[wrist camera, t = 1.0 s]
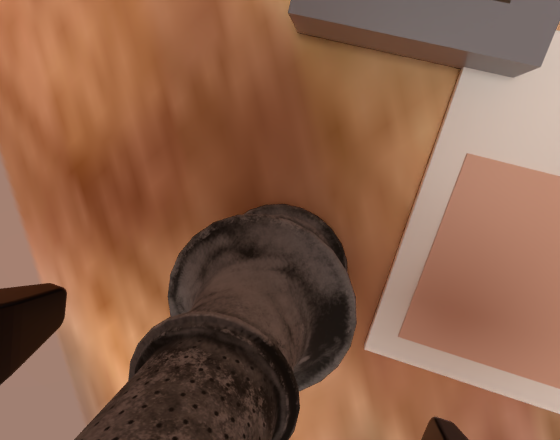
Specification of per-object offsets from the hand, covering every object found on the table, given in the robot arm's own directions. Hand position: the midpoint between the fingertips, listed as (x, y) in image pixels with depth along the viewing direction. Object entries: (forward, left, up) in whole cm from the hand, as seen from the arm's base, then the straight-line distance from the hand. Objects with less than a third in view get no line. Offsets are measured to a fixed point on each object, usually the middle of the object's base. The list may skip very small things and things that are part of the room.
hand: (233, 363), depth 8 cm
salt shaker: (0, 0, -6) cm, 6 cm away
